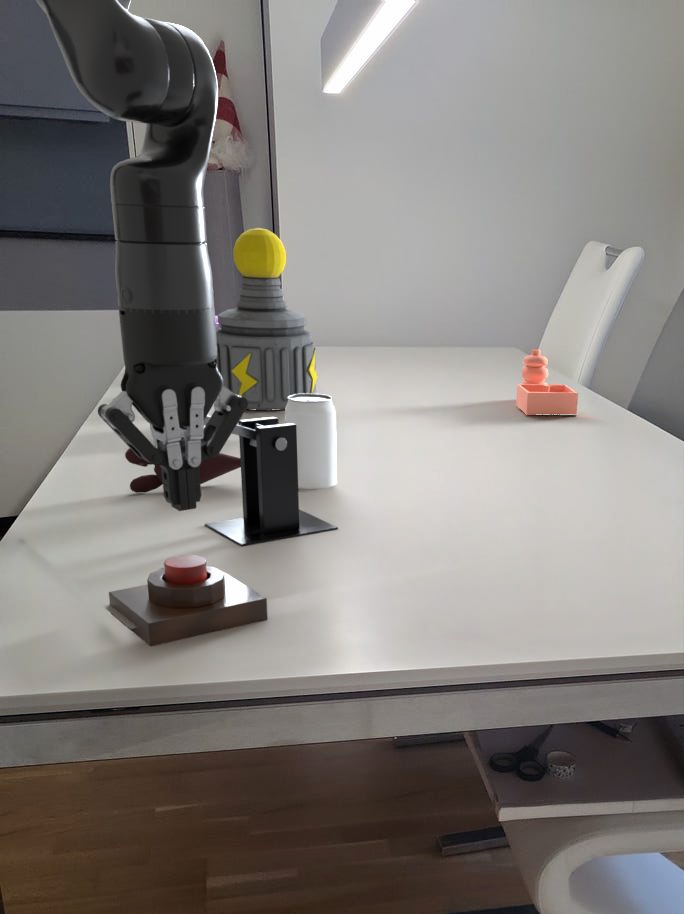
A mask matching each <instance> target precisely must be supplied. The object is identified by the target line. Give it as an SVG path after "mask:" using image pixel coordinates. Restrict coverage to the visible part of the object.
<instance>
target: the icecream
mask: <svg viewBox="0 0 684 914" xmlns="http://www.w3.org/2000/svg"><path fill="white" fill-rule="evenodd" d="M124 457H125V459H126V461H127V462H128V463H130V464H133V465H136V466H140V467H145V468H146V467H148V466H150V465H151V466H152V465H153V464H150V463H149V462H148V461H146V460H142V459H140V458H139V457H138V456H137V455H136V454H135V453H134V452H133V451H132V450H131V449H130V448H129V447H128V449H127V450H126V452H125V454H124ZM239 468H240V469H241V461H240V457H237V456H233V455H230V454H225V453H221V452H220V453H219V454H218V455H217V456H216V457H210V458H208V459H206V460H204V461H203V462H202V463H201V464H200V467H199V471H200V485H203V484H204V483H207V482H209V481H212V480H214V479H216V478H219V477H221V476H223V475H225V474H228V473H231V472H233V471H235V470H237V469H239ZM153 472H154V473H155V474H147V475H146V474H145V475H140V476H137V477H136V478H132V480H131V481H130V483H129V489H130V490H131V492H134V493H136V494H140V493H141V494H142V493H143V494H144V493H148V492H150V491H151V492H152V491H154V490H156V489H158V488H160V487H161V486H163V480H162V469H161V467H160V465H154V467H153Z"/></svg>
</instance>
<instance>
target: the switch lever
mask: <svg viewBox="0 0 684 914" xmlns="http://www.w3.org/2000/svg"><path fill="white" fill-rule="evenodd" d="M210 418H211V416H206V418H205V419H204V425H206V424H207V423H208V421H209V419H210ZM260 426H263V425H260V424H257V423H255V426H254V430H253V429H250V428H247V427H244V426H240V425H239V424H237V425H236V426H235V428H234V430H233V431H232V433H231V434H233V435H236V436H238V437H239V436H243V437H246V438H250V439H251V440H250V445H252V446H254V447H257V446H256V427H260Z"/></svg>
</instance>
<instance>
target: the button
mask: <svg viewBox="0 0 684 914" xmlns="http://www.w3.org/2000/svg"><path fill="white" fill-rule="evenodd" d="M206 566H207V559H206V558H205V557H203V556H201V555H195V554H180V555H174V556H170V557H168V558H166V559H165V560H164V562H163V568H164V570H165V580H166V582H167V583H173V584H193V583H199V582H203V581H205V580H207V567H206Z"/></svg>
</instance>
